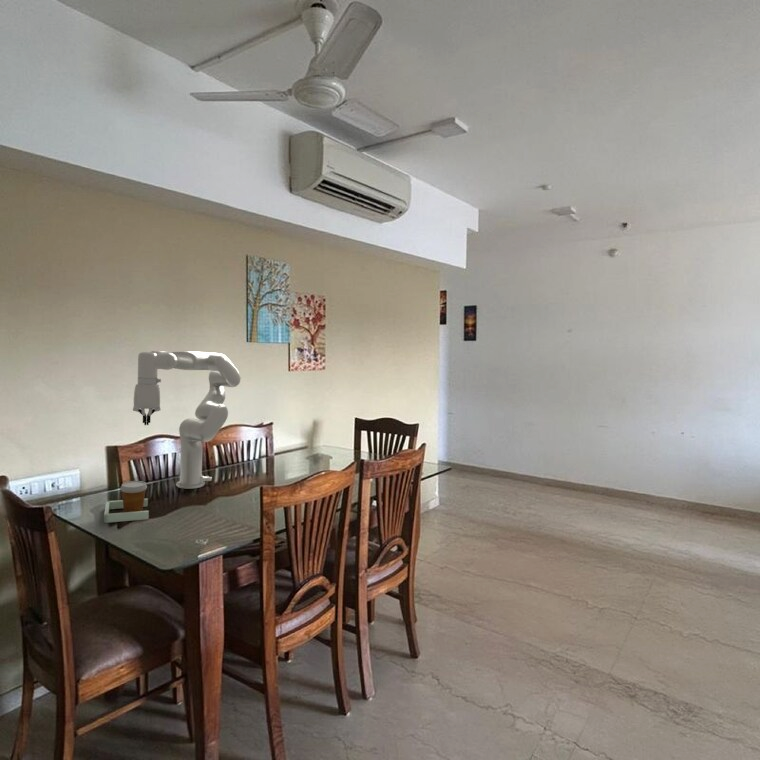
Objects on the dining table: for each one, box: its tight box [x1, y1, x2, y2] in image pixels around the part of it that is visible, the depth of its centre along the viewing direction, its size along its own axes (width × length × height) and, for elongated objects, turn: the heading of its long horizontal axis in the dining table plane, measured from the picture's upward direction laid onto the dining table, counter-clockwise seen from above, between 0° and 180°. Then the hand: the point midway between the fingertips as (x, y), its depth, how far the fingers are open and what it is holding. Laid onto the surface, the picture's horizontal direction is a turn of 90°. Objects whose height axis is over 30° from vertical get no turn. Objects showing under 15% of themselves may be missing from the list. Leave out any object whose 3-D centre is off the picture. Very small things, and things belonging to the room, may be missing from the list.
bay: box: [103, 498, 150, 524], centre depth 205 cm, size 15×16×3 cm
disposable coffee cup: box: [119, 480, 148, 512], centre depth 205 cm, size 10×10×12 cm
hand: (146, 424), depth 221 cm, fingers closed
